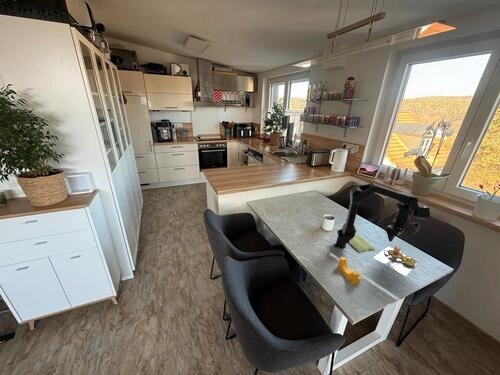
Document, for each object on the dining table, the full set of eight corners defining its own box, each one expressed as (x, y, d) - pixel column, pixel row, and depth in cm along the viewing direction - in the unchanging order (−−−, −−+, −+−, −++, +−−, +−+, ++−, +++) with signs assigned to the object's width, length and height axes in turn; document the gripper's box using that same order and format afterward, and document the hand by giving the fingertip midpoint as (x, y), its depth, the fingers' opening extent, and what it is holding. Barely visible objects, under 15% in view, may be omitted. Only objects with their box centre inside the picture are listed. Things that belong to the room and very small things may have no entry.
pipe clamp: (359, 283, 100) (362, 273, 97) (351, 284, 99) (354, 274, 96) (344, 265, 111) (347, 256, 108) (337, 266, 110) (339, 257, 107)
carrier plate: (405, 277, 103) (408, 270, 101) (373, 259, 115) (375, 252, 113) (418, 263, 113) (421, 257, 111) (387, 247, 125) (389, 241, 123)
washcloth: (355, 235, 137) (356, 231, 136) (375, 252, 121) (377, 248, 120) (338, 237, 134) (339, 233, 133) (357, 255, 119) (358, 251, 117)
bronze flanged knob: (398, 260, 113) (401, 253, 110) (386, 254, 117) (389, 246, 115) (402, 256, 116) (405, 249, 114) (391, 250, 120) (394, 243, 118)
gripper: (413, 227, 97) (402, 253, 103) (427, 217, 107) (416, 241, 113) (388, 217, 106) (380, 241, 112) (403, 208, 115) (395, 231, 122)
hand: (393, 238), depth 114 cm, fingers open, 9 cm apart
